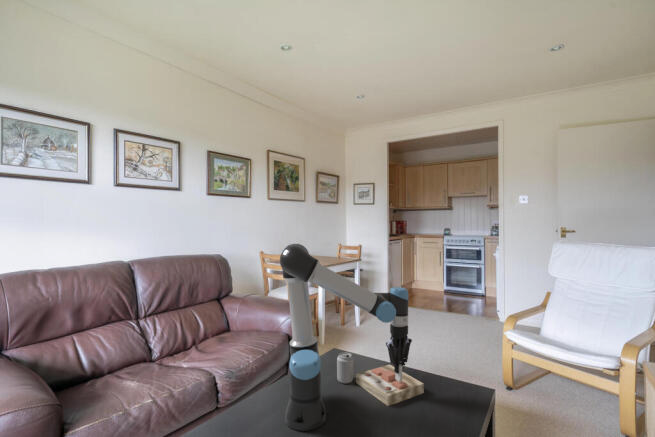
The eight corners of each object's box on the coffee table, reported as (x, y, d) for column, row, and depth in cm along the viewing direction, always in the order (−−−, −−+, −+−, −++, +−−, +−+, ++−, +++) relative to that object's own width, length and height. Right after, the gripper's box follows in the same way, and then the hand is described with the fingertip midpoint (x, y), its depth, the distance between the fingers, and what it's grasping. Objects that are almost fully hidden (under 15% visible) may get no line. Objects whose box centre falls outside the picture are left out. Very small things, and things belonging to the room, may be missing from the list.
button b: (388, 384, 141) (388, 376, 141) (381, 380, 145) (381, 372, 145) (395, 382, 143) (395, 373, 143) (389, 378, 147) (389, 370, 147)
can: (353, 384, 147) (353, 358, 147) (337, 384, 147) (337, 357, 147) (352, 376, 155) (352, 351, 155) (337, 376, 155) (336, 351, 155)
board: (387, 406, 130) (387, 394, 130) (356, 383, 149) (356, 373, 149) (423, 392, 140) (423, 382, 140) (389, 372, 159) (389, 363, 159)
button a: (399, 395, 135) (399, 386, 135) (392, 390, 139) (392, 382, 139) (407, 392, 137) (407, 383, 137) (400, 388, 141) (400, 379, 141)
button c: (378, 381, 147) (378, 373, 147) (372, 377, 151) (372, 369, 151) (385, 378, 149) (385, 370, 149) (379, 375, 153) (379, 367, 153)
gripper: (393, 329, 132) (393, 387, 132) (416, 324, 139) (416, 380, 138) (381, 324, 138) (381, 379, 138) (404, 319, 145) (403, 373, 145)
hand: (398, 379), depth 138 cm, fingers closed
